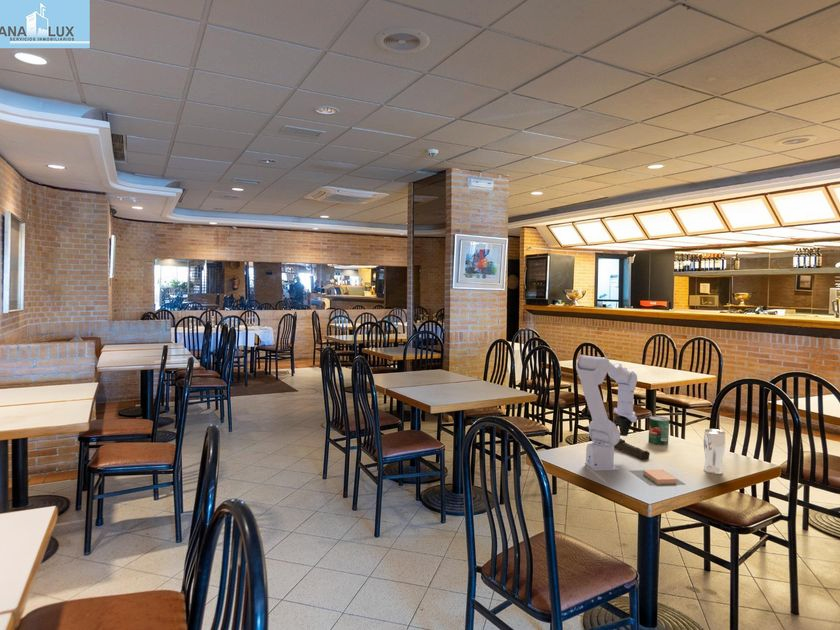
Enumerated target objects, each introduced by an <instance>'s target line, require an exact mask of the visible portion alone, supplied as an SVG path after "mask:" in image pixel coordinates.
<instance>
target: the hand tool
mask: <svg viewBox="0 0 840 630" xmlns="http://www.w3.org/2000/svg"><path fill="white" fill-rule="evenodd" d="M614 449H616V450H618V451H624V452H626V453H627V454H630V455H632V456H634V457H635V458H636V457H637V458H638V459H641V461H647V460H649V459H650V455H651V454H650V452H649V451H648V450H644V449H642V448H640V447H636V446H634V445H632V444H630V443H627V442H626V440H625V439H622V438H620V440H619V442H618V443H617V444H616V445H614Z"/></svg>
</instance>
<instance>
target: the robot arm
mask: <svg viewBox="0 0 840 630" xmlns="http://www.w3.org/2000/svg"><path fill="white" fill-rule="evenodd" d="M576 361H577V362H576V365H575V369H576V372H577V375H578V378H579V380H580V384H581V385H580V386H581V388H582V392H583V396H584V399H585V401H586V404H587V407H588V410H589V413H590V416H591V419H592V420H591V421H590V422H589V424H588V434H589V438H590V439H591V441H592V442H591V443H587V445H586V451H585V452H586V453H585V462H584V464H585V465H587V467H589V468H590V469H592V470H593V471H619V468H618V467H616V466H615V464H614V463H615V462H614V461H615V459H614V458H615V456H614V455H615V447H614V445H616V444H617V443H618V442H619V440H620V439H621V436H622V437H628V434H629V432H630V429H631V427H632V425H633V424H634V423H638V422H637V421H638V417H637V416H636V414H637V413H636V412H635V411H634V396H635V395H634V393H635V392H634V391H636V386H637V383H638V375H637V374H636V373H635V371H632V370H628V368H626V367H623V364H622V363H614V364H613V363H612V362H611V361H610V359H609V358H607V357H601V356H593V355H591V356H590V355H585V354H581V355H579V357H578V358H577V360H576ZM607 374H608V376H609V377H610V379H612V380H614V381H615V383H616V384H617V386H618V387H617V405H616V406H617V407H613V413H614V414H617V415H618V416H615V420H616V422H617V425H618V427H617V425H616V424H615V422H613V421H611V420H610V419H609V418H608V414H607V411H606V408H605V404H604V401H603V399H602V395H601V391H600V388H599V385H602V384H603V383H604V380H605V378H606V376H607Z"/></svg>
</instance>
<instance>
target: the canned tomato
mask: <svg viewBox="0 0 840 630" xmlns="http://www.w3.org/2000/svg"><path fill="white" fill-rule="evenodd" d="M648 423H649V424H648V425H649V426H648V443H649V444H650V445H653V446H657V445H660V447H666V445H667V446H668V445H669V434H670V418H668V417H664V416H659V415H652V416H649V422H648Z"/></svg>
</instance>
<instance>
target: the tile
mask: <svg viewBox="0 0 840 630" xmlns="http://www.w3.org/2000/svg"><path fill="white" fill-rule="evenodd" d="M642 470H643V474H644V475H645V476H646V477H648V478H649V479H651V480H652V481H654V482H655V483H657V484H676V483H677V479H678V478H677V477H675V476H673V475H672V474H670V473H669V472H667V471H665V470H664V469H642ZM663 470H664V471H663ZM666 472H667V473H666ZM668 473H669V474H668ZM671 475H672V476H671ZM674 477H675V478H674ZM676 478H677V479H676Z"/></svg>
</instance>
